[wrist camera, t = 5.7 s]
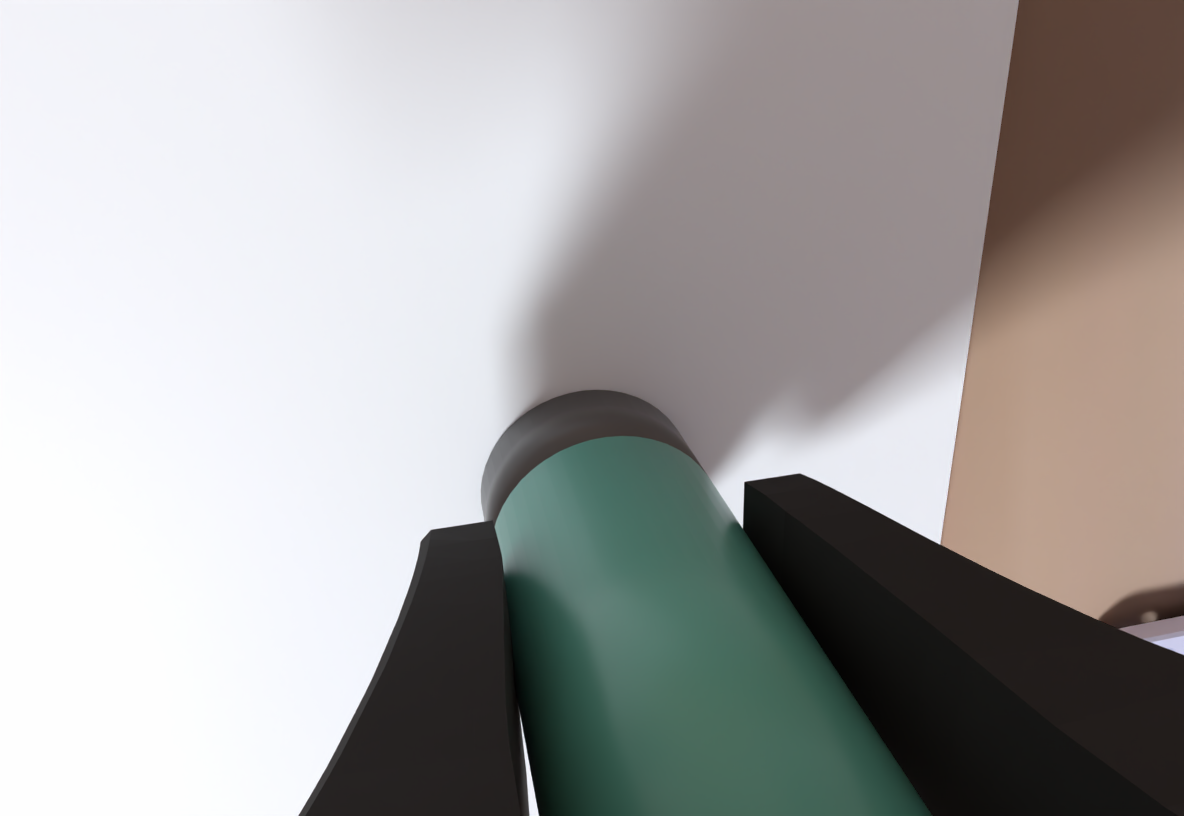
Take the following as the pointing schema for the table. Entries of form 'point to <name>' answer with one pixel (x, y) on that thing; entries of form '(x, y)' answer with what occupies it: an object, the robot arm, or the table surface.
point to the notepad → (428, 321)
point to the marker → (662, 635)
